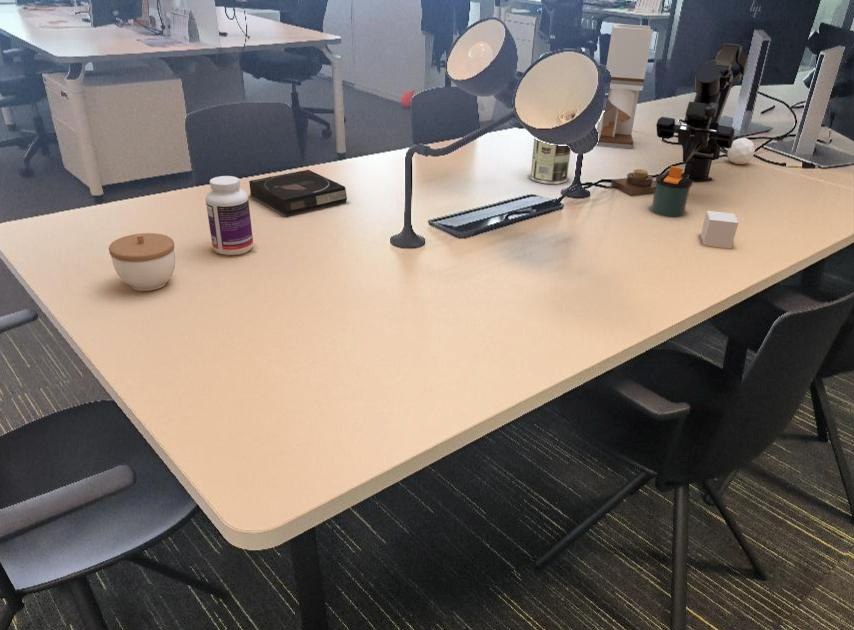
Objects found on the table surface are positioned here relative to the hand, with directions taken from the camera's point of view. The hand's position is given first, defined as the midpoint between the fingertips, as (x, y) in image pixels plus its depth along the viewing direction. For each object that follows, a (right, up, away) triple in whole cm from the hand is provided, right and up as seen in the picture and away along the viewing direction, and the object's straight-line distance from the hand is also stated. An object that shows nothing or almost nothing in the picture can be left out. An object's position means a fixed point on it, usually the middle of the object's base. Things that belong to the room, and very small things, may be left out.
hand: (684, 161), depth 175 cm
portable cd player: (-95, -11, -6) cm, 96 cm away
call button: (-8, -1, +12) cm, 14 cm away
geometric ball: (+30, +10, +40) cm, 51 cm away
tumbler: (-5, -13, -1) cm, 14 cm away
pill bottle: (-103, -27, -33) cm, 112 cm away
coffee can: (-32, 0, +18) cm, 36 cm away
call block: (-8, -4, +13) cm, 16 cm away
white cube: (+1, -23, -18) cm, 29 cm away
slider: (-5, -6, -7) cm, 11 cm away
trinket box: (-114, -35, -48) cm, 128 cm away
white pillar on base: (-5, +20, +55) cm, 58 cm away
